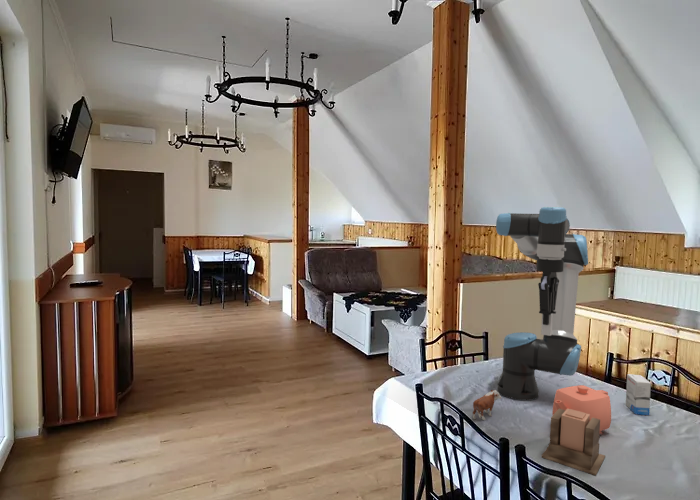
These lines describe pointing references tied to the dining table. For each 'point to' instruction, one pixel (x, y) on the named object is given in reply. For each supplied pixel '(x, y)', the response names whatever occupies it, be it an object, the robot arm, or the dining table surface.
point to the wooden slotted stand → (573, 458)
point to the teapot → (585, 403)
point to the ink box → (638, 394)
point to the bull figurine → (485, 403)
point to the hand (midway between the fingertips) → (546, 334)
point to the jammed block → (574, 429)
